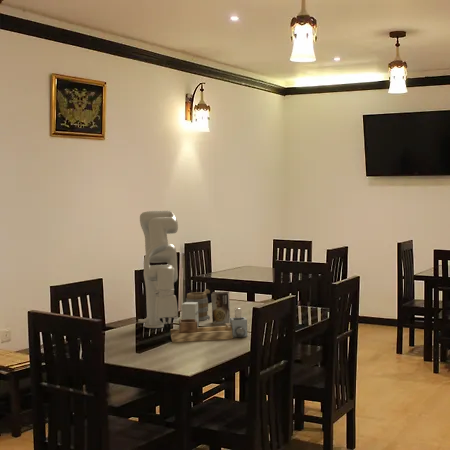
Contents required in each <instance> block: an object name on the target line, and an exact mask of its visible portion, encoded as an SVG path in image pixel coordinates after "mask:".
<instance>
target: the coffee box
mask: <svg viewBox="0 0 450 450" xmlns="http://www.w3.org/2000/svg"><path fill="white" fill-rule="evenodd" d="M210 296H211V317H212V324H213V325H215V324H216V325H217V324H218V325H220V324H224V325H226V323H229V324H230V318H231V308H230V307H231V305H230V291H213V292H212V293H210Z"/></svg>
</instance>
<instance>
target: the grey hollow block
mask: <svg viewBox="0 0 450 450" xmlns="http://www.w3.org/2000/svg"><path fill="white" fill-rule="evenodd" d="M229 324H230V325H231V327H232V336H233V338H241V339H242V338H245V337H246V338H247V337H248V319H247V318H246V317H245V316H242V320H235V317H230V323H229Z"/></svg>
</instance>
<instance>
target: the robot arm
mask: <svg viewBox="0 0 450 450" xmlns="http://www.w3.org/2000/svg"><path fill="white" fill-rule="evenodd" d="M139 223H140V227H141V230H142V232H143V235H144V242H145V243H144V244H145V245H144V247H145V255H144V257H143V279H144V285H145V296H146V297H145V298H146V303H145V305H146V318H144V319H143V318H140V319H139V318H138V320H137V323H138V324H144V325H143V326H144V328H147V329H162V328H163V331H165V333H170V331H171V323H172V322H174V321H175V320H179V316H178V315H179V313H178V300H177V295H175V286H174V285H175V283H176V282H177V281H178V277H179V276H178V256H177V255H178V253H177V248H176V247H175V245H174V244H173V243H169V241H168V235H169V234H170V235H171V234H176V233H177V232H178V230H179V224H178V220H177V217H176V214H175V213H174V212H173V211H172V210H148V211H144V212H142V213H140V214H139ZM151 263H153V264H154V265H151ZM155 263H156V264H155ZM157 263H167V264H157ZM166 318H168V320H167V321H166Z"/></svg>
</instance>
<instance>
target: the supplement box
mask: <svg viewBox="0 0 450 450" xmlns="http://www.w3.org/2000/svg"><path fill="white" fill-rule="evenodd" d="M180 307H181V308H180V310H181V319H196V320H197V326H198V327H200V326H199V325H200V323H199V322H200V321H199V317H198V302H186V301H184V302H183V303H182V304H181V306H180Z"/></svg>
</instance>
